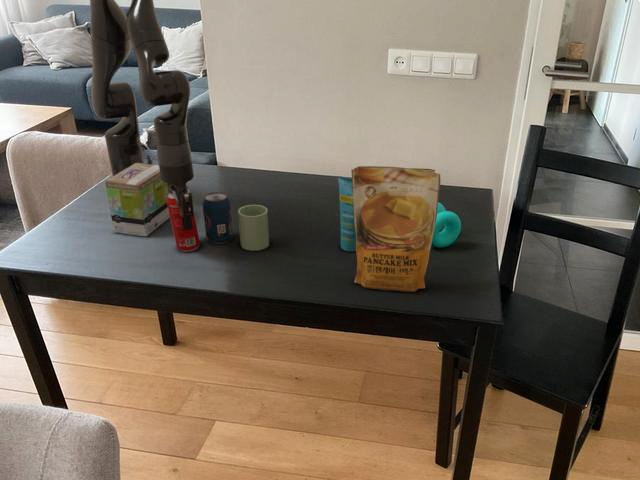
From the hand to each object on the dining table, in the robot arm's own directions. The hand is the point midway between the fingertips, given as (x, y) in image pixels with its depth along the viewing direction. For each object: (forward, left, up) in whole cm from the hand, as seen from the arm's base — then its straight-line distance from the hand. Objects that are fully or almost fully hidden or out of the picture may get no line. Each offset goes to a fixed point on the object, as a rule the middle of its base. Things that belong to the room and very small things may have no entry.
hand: (183, 223), depth 145 cm
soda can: (-1, +9, -7) cm, 11 cm away
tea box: (-19, -6, -7) cm, 21 cm away
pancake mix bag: (+39, +36, -7) cm, 54 cm away
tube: (+19, +37, -7) cm, 42 cm away
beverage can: (0, 0, -7) cm, 7 cm away
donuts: (+26, +59, -7) cm, 65 cm away
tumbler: (+6, +16, -7) cm, 18 cm away
